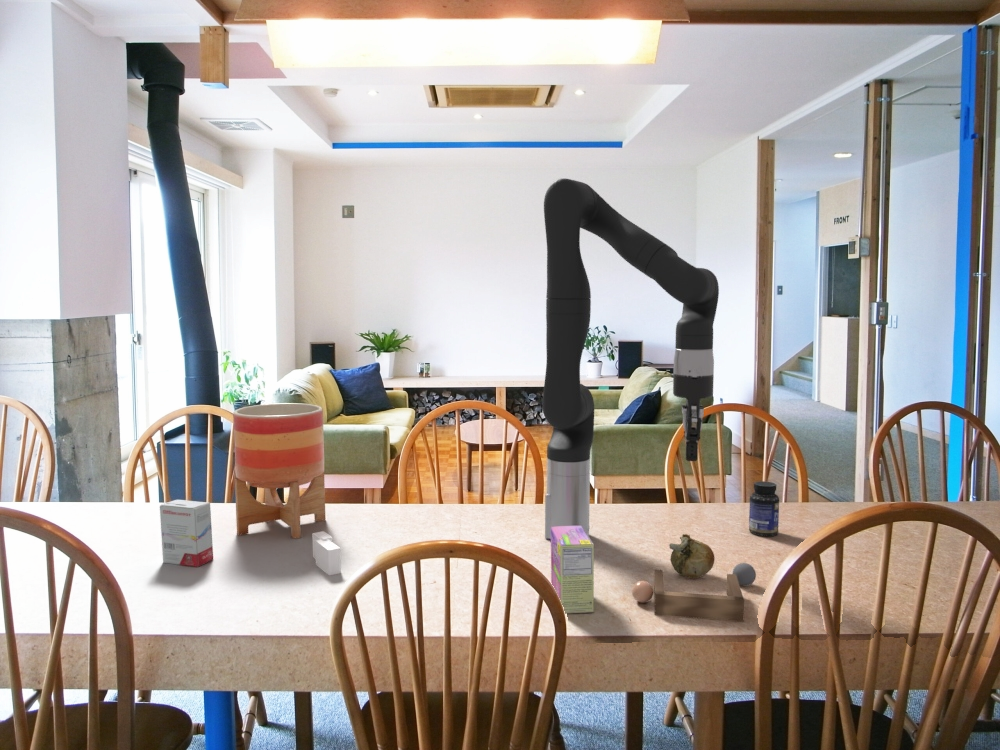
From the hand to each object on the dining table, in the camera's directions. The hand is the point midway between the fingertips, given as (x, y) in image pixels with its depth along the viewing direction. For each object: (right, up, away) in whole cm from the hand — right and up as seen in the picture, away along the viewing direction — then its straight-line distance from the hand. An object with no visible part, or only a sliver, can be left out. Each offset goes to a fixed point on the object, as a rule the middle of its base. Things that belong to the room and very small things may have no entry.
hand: (691, 460), depth 149 cm
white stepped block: (-71, -21, 0) cm, 74 cm away
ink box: (-99, -20, +1) cm, 101 cm away
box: (-25, -22, -18) cm, 38 cm away
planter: (-87, -18, +23) cm, 91 cm away
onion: (-2, -21, -7) cm, 22 cm away
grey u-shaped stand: (-4, -22, -19) cm, 29 cm away
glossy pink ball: (-13, -22, -19) cm, 32 cm away
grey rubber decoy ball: (+7, -21, -11) cm, 25 cm away
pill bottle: (+20, -18, +19) cm, 33 cm away
